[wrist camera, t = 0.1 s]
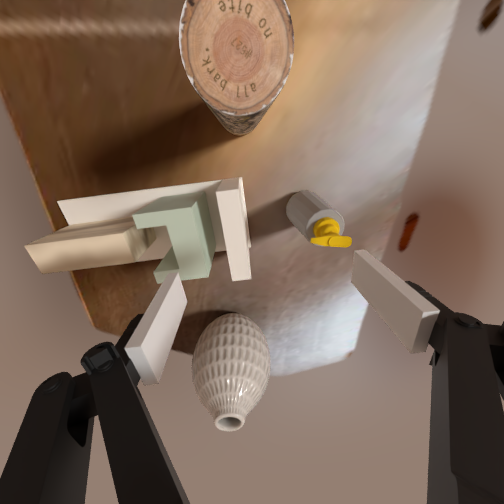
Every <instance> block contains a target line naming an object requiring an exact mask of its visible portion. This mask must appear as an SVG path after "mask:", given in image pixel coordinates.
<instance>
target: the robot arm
mask: <svg viewBox="0 0 504 504" xmlns="http://www.w3.org/2000/svg"><path fill="white" fill-rule="evenodd" d="M351 282H352V284H353V285H354V286H355V287H356V288H357V290H358V291H359V292H360V293H361V294H362V296H363V297H364V298H365V299H366V300H367V302H368V303H369V304H370V305H371V306H372V307H373V309H374V310H375V311H376V312H377V313H378V315H379V316H380V317H381V318H382V320H383V321H384V322H385V323H386V324H387V326H388V327H389V328H390V329H391V330H392V332H393V333H394V334H395V335H396V336H397V338H398V339H399V340H400V341H401V342H402V344H403V345H404V346H405V347H406V348H407V350H408V351H409V352H410V353H420V352H426V349H427V346H428V343H429V344H430V345H431V346H432V347H433V348H434V349H435V350H434V353H433V356H432V359H431V361H430V364H429V365H432V367H433V368H432V390H431V416H430V441H429V466H428V491H427V504H504V411H503V407H502V402H501V397H500V394H501V396H502V398H503V400H504V322H503V324H502V326H500V325H490V324H483V323H482V322H481V321H479V320H478V319H476V318H474V317H472V316H469V315H467V314H464V313H458V312H456V313H454V312H453V311H452V310H450V309H449V308H448V307H446V306H445V305H444V304H442V303H441V302H440V301H438V300H437V299H436V298H434V297H432V295H431V294H429V293H428V292H426V291H425V290H424V289H423V288H422V287H420V286H419V285H417V284H415V283H412V282H410V281H405V282H404V281H403V280H402V279H401V278H399V277H398V276H397V275H396V274H394V273H393V272H392V271H391V270H389V269H388V268H387V267H386V266H385V265H383V264H382V263H381V262H380V261H378V260H377V259H376V258H375V257H373V256H372V255H371V254H370V253H369V252H367V251H366V250H365V249H364V250H356V251H354V259H353V268H352V278H351ZM186 304H187V299H186V296H185V293H184V289H183V286H182V283H181V280H180V276H179V273H178V272H176V273H168V274H167V276H166V278H165V280H164V281H163V283H162V285H161V286H160V288H159V290H158V292H157V293H156V295H155V297H154V298H153V300H152V302H151V304H150V305H149V307H148V309H147V310H146V312H145V314H138V315H137V316H136V317H135V318H134V319H133V320H131V322H130V323H129V325H128V326H127V329H126V330H125V331H124V333H123V335H122V336H121V337H120V339H119V341H118V342H117V344H116V345H115V346H114V344H112V343H111V342H103V343H101V344H98V345H95V346H94V347H92V348H91V349H89V350H88V351H87V352H86V353H85V354H84V355H83V357H82V359H81V365H82V366H83V368H84V369H85V371H86V373H83V374H80V375H77V376H75V377H72V376H71V375H70V374H69V373H68V372H61V373H58V374H55V375H53V376H52V377H49V378H48V379H47V380H45V381H44V382H43V383H42V384H41V385H40V386H39V387H38V388H37V389H36V390H35V392H34V394H33V396H32V399H31V401H30V404H29V406H28V409H27V411H26V414H25V417H24V419H23V422H22V424H21V427H20V429H19V432H18V434H17V437H16V440H15V442H14V445H13V447H12V450H11V452H10V455H9V458H8V460H7V463H6V465H5V468H4V470H3V473H2V475H1V478H0V504H85V494H86V485H87V478H88V477H87V476H88V468H89V460H90V451H91V443H92V433H93V425H94V416H96V415H98V416H99V421H100V425H101V430H102V434H103V438H104V442H105V446H106V451H107V455H108V459H109V464H110V468H111V472H112V477H113V481H114V485H115V489H116V494H117V498H118V502H119V504H190V502H189V500H188V498H187V496H186V493H185V491H184V489H183V487H182V485H181V482H180V480H179V478H178V476H177V473H176V471H175V469H174V467H173V465H172V462H171V460H170V458H169V456H168V454H167V451H166V449H165V447H164V445H163V443H162V440H161V438H160V436H159V434H158V431H157V429H156V427H155V425H154V423H153V420H152V418H151V416H150V413H149V411H148V409H147V407H146V405H145V402H144V400H143V398H142V396H141V394H140V391H139V389H138V387H137V385H138V382H139V380H140V379H141V380H142V382H143V384H144V385H152V384H159V381H160V378H161V376H162V373H163V370H164V367H165V364H166V361H167V358H168V356H169V353H170V350H171V347H172V344H173V341H174V338H175V336H176V333H177V330H178V327H179V324H180V321H181V318H182V316H183V313H184V310H185V307H186Z"/></svg>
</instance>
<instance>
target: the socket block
mask: <svg viewBox="0 0 504 504" xmlns="http://www.w3.org/2000/svg"><path fill="white" fill-rule="evenodd" d="M132 216H133V219H134V222H135V224H136V227H137V229H141V228H149V227H157V226H165V225H166V227H167V230H168V233H169V236H170V240H171V243H172V247H171V248H170V250H169V251H168V252H167V254H166V255H165V257H164V258H163V260H162V261H161V262H160V264H159V265H158V267H157V268H156V269H155V271H154V272H153V273H154V276H155V278H156V281H157V283H163V281H164V280H165V278H166V276H167V274H168V273H176V272H178V273H179V276H180V280H189V279H197V278H205V277H209V273H210V269H211V265H212V261H213V257H214V253H215V249H216V241H215V237H214V232H213V227H212V222H211V217H210V213H209V208H208V203H207V198H206V193H205V191H202V192H195V193H187V194H179V195H171V196H164V197H161V198H159V199H157V200H156V201H154V202H152V203H151V204H149V205H147V206H146V207H144V208H142V209H141V210H139V211H137V212H136V213H134V214H133V215H132Z"/></svg>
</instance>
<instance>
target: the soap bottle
mask: <svg viewBox="0 0 504 504" xmlns="http://www.w3.org/2000/svg"><path fill="white" fill-rule="evenodd" d="M286 214H287V216H288V218H289V220H290V221H291V222H292V223H293V224H294V226H295V227H296V228H297V229H298V230H299V231H300V232H301V233H302V234H303V235H304V236H305V237H306V239H307V240H308V241H309V242H310V243H312V244H313V245H316V246H320V247H321V246H332V247H349V246H350V245H351V243H352V240H351V238H350V237H348V236H341V235H342V233H343V231H344V220H343V217H342V215H341V214H340V213H338V212H337V211H336V210H335V209H334V208H332V207H331V206H330V205H329V204H328V203H326V202H325V201H324V200H323V199H321V198H320V197H319V196H318V195H317V194H315V193H314V192H312V191H308V190H305V191H299V192H297V193H296V194H294V195H293V196H292V197H291V198H290V199H289V201H288V203H287V206H286Z"/></svg>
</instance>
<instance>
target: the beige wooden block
mask: <svg viewBox="0 0 504 504" xmlns="http://www.w3.org/2000/svg"><path fill="white" fill-rule="evenodd" d="M156 239H157V237H156V234H155V231H154V228H153V227H149V228H141V229H137V227H136V224H135V222H134V219H133V217H126V218H118V219H110V220H103V221H95V222H87V223H79V224H71V225H69V226H67V227H65V228H62V229H60V230H58V231H56V232H54V233H51V234H49V235H47V236H45V237H42V238H40V239H38V240H36V241H33V242H31V243H29V244H27V245H25V246H24V247H25V248H26V250H27V251H28V253H29V254H30V256H31V258H32V259H33V261H34V262H35V264H36V265H37V267H38V269H39V270H40V272H41V273H42V274H46V273H54V272H62V271H71V270H79V269H86V268H94V267H102V266H110V265H118V264H126V263H134V262H136V261H137V260H138V259H139V257H140V256H141V255H142V254H143V253H144V252H145V251H146V250H147V249H148V248H149V247H150V246H151V245H152V244H153V242H154V241H155V240H156Z"/></svg>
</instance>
